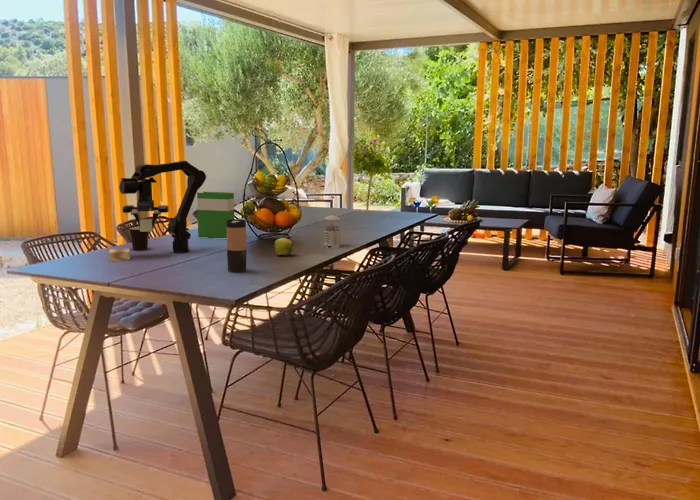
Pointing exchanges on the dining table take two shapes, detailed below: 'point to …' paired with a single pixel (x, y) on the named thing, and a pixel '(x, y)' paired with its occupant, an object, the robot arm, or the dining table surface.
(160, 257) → the dining table surface
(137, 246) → the coffee mug
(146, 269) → the dining table surface
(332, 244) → the french press
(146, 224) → the yellow cube
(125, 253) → the oak block
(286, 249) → the apple
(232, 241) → the travel mug
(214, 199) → the cereal box
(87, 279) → the dining table surface
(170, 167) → the robot arm
